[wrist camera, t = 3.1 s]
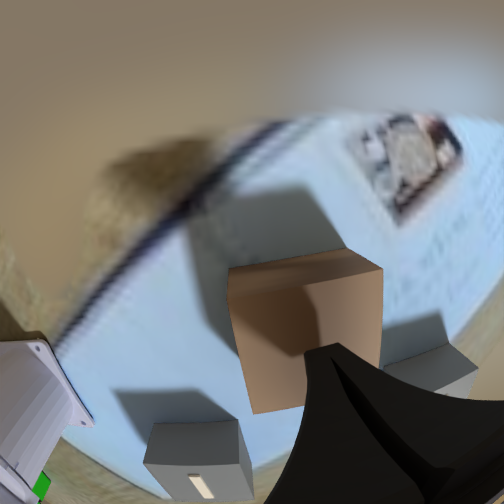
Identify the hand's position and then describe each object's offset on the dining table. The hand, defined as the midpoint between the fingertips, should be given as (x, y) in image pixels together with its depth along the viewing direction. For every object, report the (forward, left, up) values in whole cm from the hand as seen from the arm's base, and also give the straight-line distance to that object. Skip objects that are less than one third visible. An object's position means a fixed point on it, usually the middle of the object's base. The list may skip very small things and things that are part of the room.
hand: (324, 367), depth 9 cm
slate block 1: (-8, -10, -5) cm, 14 cm away
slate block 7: (+8, -9, -5) cm, 13 cm away
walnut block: (0, 0, -5) cm, 5 cm away
